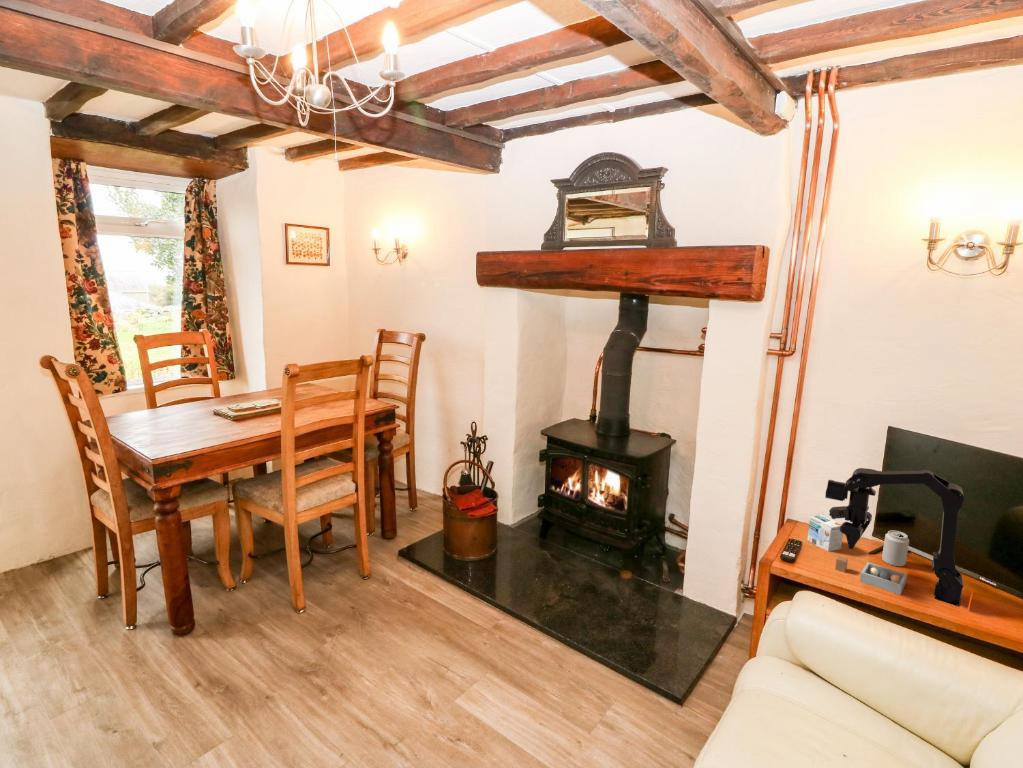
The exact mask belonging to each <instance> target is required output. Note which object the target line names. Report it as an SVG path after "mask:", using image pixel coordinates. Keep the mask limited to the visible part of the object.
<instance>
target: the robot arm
mask: <svg viewBox="0 0 1023 768" xmlns="http://www.w3.org/2000/svg"><path fill="white" fill-rule="evenodd" d="M908 484H909V485H919V484H920V485H922V484H923V485H924V486H926V487H928V488H929V489H930V490H931V491H932V492H934V493H935V494H936V495H937V496H938V497H940V498H941V504H942V505H941V506H942V510H943V513H942V523H941V533H940V534H941V535H940V545H939V550H938V552H936V551H932V560H931V570H932V571H934V574H935V577H937V578H938V581H936V583H935V586H934V593H933V596H934V600H937V601H939V602H943V603H946V604H949V605H953V606H955V607H960V606H961V602H962V593H963V589H964V581H963V575H962V573H961V572H960V571H959V570H958V569H957V568H956V561H955V546H956V539H957V538H956V535H957V528H958V526H957V525H958V516H959V513H960V511H961V510H962V507H963V503H964V501H965V495H964V492H963V488H962V487H961V486H959V485H958V484H955V483H951V482H949V481H947V480H946V479H944V478H943V477H941V476H939V475H937V474H935V473H933V471H931V470H929V469H922V470H891V471H889V470H888V471H887V470H885V471H882V470H876V469H873V468H867V467H866V468H865V467H858V468H856V469H855V470H854V471H853V472H852V475H851V476H850V477H849V478H848V479H847V480H845V482H841V481H836V480H833V479H828V481H827V486H826V490H825V497H824V498H825V499H830V500H834V501H835V500H836V501H840V502H844V501H846V500H849V501H848V505H847V506H846V505H845V506H843V505H842V506H831V508H830V509H829V514H828V515H829V516H830V519H832V520H836V519H844V520H845V521H844V522H843V523H841V524H842V525H841V526H840V532H842V533H843V535H844V536H845V537H846V541H847V546H848V549H849V550H853V549H854V548H855V546H856V545H857V543H858V541H860V539H861V538H862V536H863V534H864V533H865V532H866V530H867V528H868V526H869V525H870V524H871V522H872V519H873V515H872V513H871V512H869V510H870V509H869V508H870V506H869V499H870V496H873V497H874V496H876V495H877V494H876V493H877V491H876V490H875V489H874V487H877V486H881V485H908ZM848 497H849V499H848Z"/></svg>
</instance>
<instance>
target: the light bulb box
mask: <svg viewBox="0 0 1023 768" xmlns="http://www.w3.org/2000/svg"><path fill="white" fill-rule="evenodd" d="M842 524H843V523H840V522H838V521H836V520H835V519H832V518H831V517H828V516H826V515H824V514H818V515H812V516H811V515H810V517H809V525H808V532H807V533H808V534H807V541H808V542H809V543H810V544H813V545H815V546H816V547H818V548H821V549H823V550H825V551H827V552H833V551H839V550H842V543H843V536H844V534H843V533H842V532H840V526H841V525H842Z"/></svg>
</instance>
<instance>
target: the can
mask: <svg viewBox="0 0 1023 768" xmlns="http://www.w3.org/2000/svg"><path fill="white" fill-rule="evenodd" d="M884 535H885V536H884V540H883V541H884V543H883V546H882V547H883V549H882V554H881V559H882V561H883V562H884V563H887V565H891V566H894V567H904V566H906V564H907V556H908V550H909V545H910V539H909V538H908V536H909V535H907V534H906V533H905V532H902V531H900V530H894V529H892V530H888V531H887V533H885V534H884ZM900 535H901V537H899V536H900ZM902 536H903V537H902Z"/></svg>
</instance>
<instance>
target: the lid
mask: <svg viewBox="0 0 1023 768" xmlns="http://www.w3.org/2000/svg"><path fill="white" fill-rule="evenodd" d="M848 561H849V559H848V558H846V557H843V556H840V555H838V557H837V558H836V561H835V567H834V570H836V571H839V572H841V573H845V572H846V571H847V568H848Z"/></svg>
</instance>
